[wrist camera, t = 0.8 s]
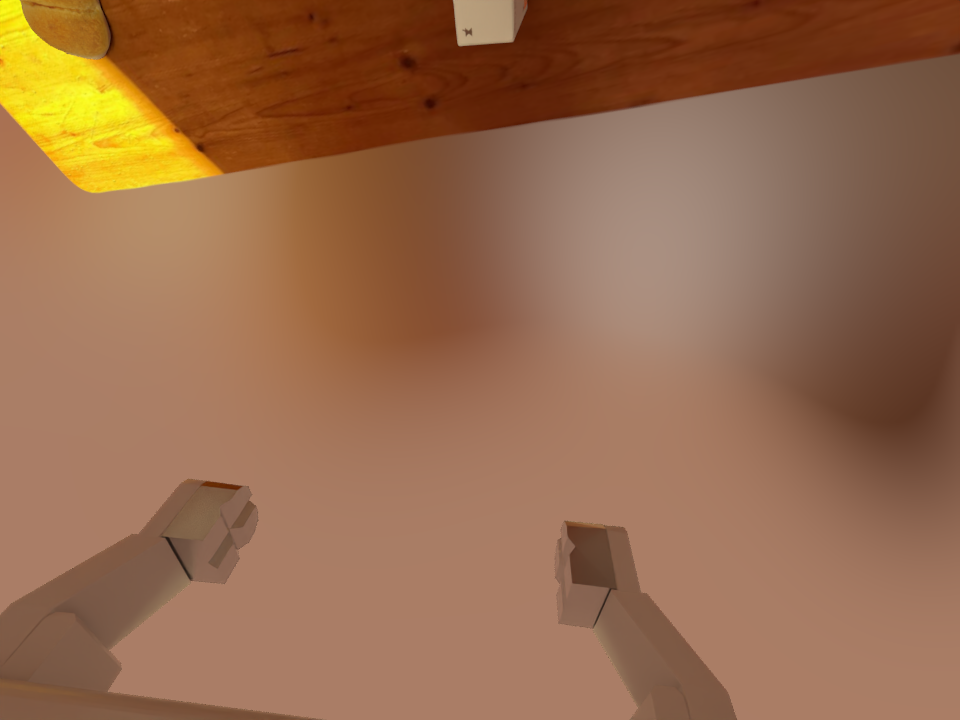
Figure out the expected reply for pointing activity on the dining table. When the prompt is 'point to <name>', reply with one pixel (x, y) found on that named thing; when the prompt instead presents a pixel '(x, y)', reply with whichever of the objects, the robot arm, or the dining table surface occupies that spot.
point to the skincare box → (488, 20)
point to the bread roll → (70, 25)
